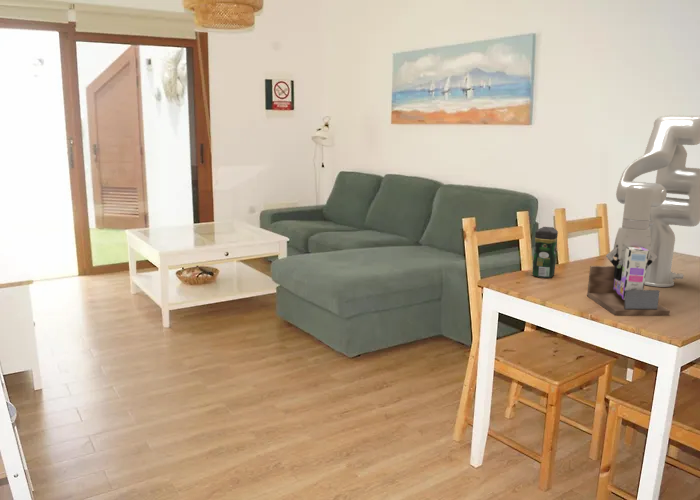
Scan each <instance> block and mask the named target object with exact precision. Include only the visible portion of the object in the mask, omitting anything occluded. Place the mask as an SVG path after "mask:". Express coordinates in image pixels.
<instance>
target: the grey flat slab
mask: <svg viewBox="0 0 700 500" xmlns="http://www.w3.org/2000/svg"><path fill="white" fill-rule="evenodd" d="M659 297H660V290H658V289H644V290H626V295H625V303H624V309H625V310H657V307H658V304H659Z"/></svg>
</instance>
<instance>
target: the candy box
mask: <svg viewBox="0 0 700 500" xmlns="http://www.w3.org/2000/svg"><path fill="white" fill-rule="evenodd" d="M648 253H649V250H647V249H646V248H644V247H626V252H625V257H624V260H623V264H622V266H621V268H622V276H621V280H620V281H618V280H616V279H614V288H613V289H614V290H615V291H616V292H617V293H618V295H619V296H620V297H621V298H622V299H623V300H625V295H626V290H645V288H644V287H645V284H644V282H645V275H646V268H647V261H648Z"/></svg>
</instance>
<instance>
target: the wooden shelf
mask: <svg viewBox="0 0 700 500" xmlns="http://www.w3.org/2000/svg"><path fill="white" fill-rule="evenodd" d="M614 269H615V266H613V265H590V266H589V273H588V284H587V293H586V296H587V297H588V298H589V299H591V300H592V301H593V302H594V303H597V304H598V305H600V306H601V307H602V308H603V309H605V310H607V311H608V312H609V313H611V314H612V315H614V316H670V314H671V310H669V309H668V308H666V307H664V306H663V305H661V304H660V303H658V307H657V310H625V309H624V303H625V300H623V299H622V298H621V297H620V296H619V295H618V293H617V292H616V291H615V290H614V289H613V288H614V279H615V278H614Z"/></svg>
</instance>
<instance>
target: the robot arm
mask: <svg viewBox="0 0 700 500" xmlns="http://www.w3.org/2000/svg"><path fill="white" fill-rule="evenodd" d="M698 144H700V115H684V114H683V115H680V114H678V115H673V114H669V115H662V116H659V117H657V118H656V119H655V120H654V122H653V127H652V130H651V133H650V135H649V139H648V141H647V145H646V147H645V151H644V153H643V155H641V156H639V157H638V158H637V159H634V161H632V162H631V163H630V164H628V165H627V167H625V169H624V170H623V171H622V173H621V176H620V179H619V182H618V185H617V187H616V188H617V189H616V192H615V193H616V194H615V195H616V200H617V202H618V203H619V204H623V205H624V206H623V214H622V222H621V227H618V229H617V233H616V235H615V239H614V244H613V249H612V250H611V251H609V252H608V253H607V254H606V255H605V257H606V258H607V260H609V262H610V263H611V264H612V266H615V269H614V278H615V279H616V280H618V281H620V280H621V276H622V268H621V266H622V264H623V260H624V257H625V252H626V247H644V248H646V249H647V250H649V253H648V261H647V268H646V275H645V282H644V286H649V287H650V286H651V287H657V288H669V287H673V286H674V285H675V281H674V280H676V279H677V280H678V279H679V280H681V279H684V277H685V276H684V274H683V273H676V272H673V271H672V266H673V259H674V258H673V257H674V252H675V250H674V249H675V244H676V235H675V232H674V231H673V229H672V227H671V226H679V227H690V228H691V227H696V226H698V225H699V224H700V168H698V167H686V166H687V165H686V163H687V157H688V153H687V152H688V151H687V150H686V148H685V146H697V145H698ZM655 171H656V177H655V182H645V181H634V180H635V179H637V178H638V177H640V176H642V175H644V174H648V173H651V172H655ZM667 194H668V195H669V194H672V195H684V196H687V197H689V198H680V197H669V196H667ZM615 258H616V259H615Z"/></svg>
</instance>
